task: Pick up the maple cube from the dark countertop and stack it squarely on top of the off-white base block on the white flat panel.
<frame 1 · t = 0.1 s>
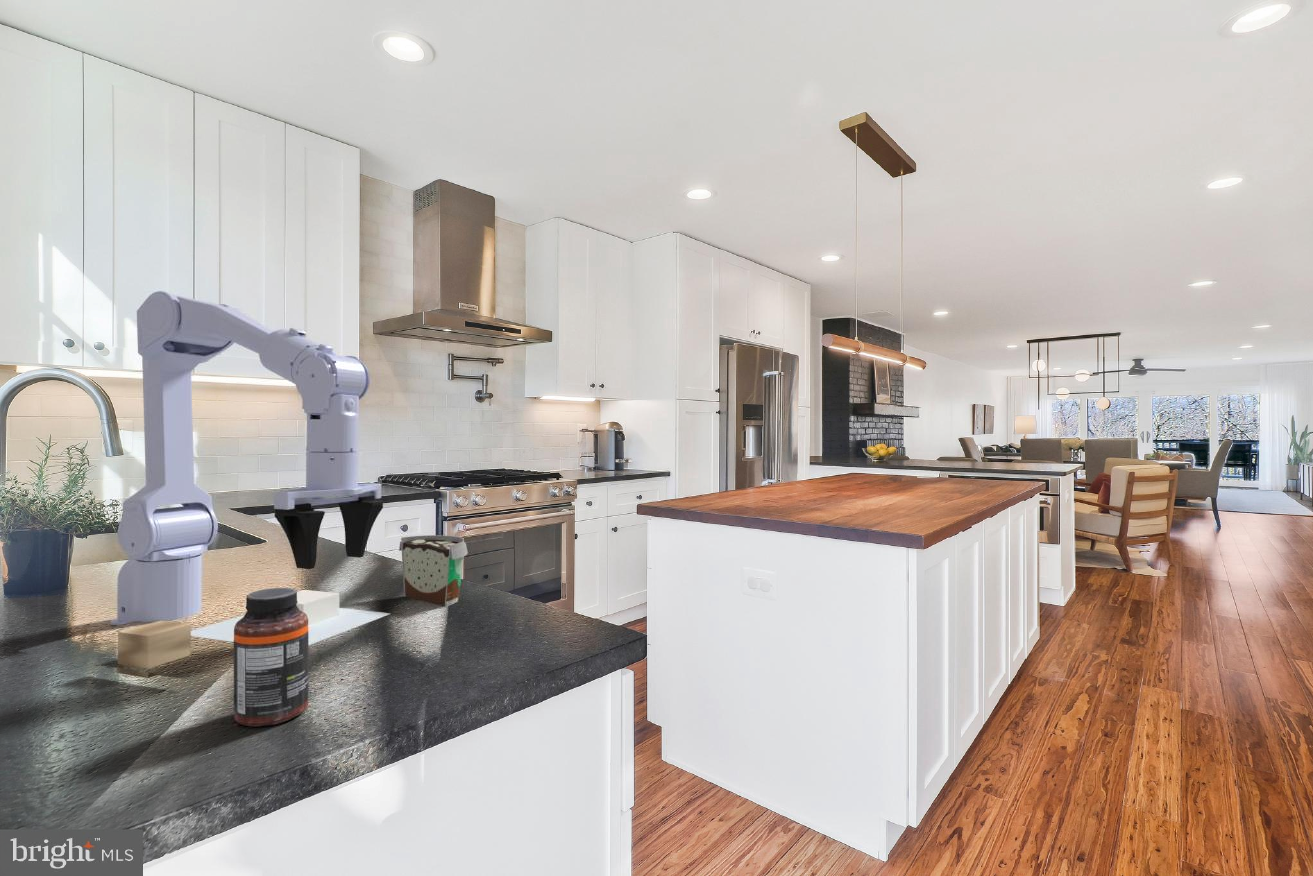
hand: (331, 562, 79), 10 cm above the counter, tool pointing down, fingers open, 7 cm apart
supplement bottle: (271, 717, 59), on the counter
food container: (441, 605, 98), on the counter
base block: (303, 619, 85), point 1 cm above the counter, touching white flat panel
white flat panel: (291, 630, 83), on the counter
maple block: (154, 669, 70), on the counter
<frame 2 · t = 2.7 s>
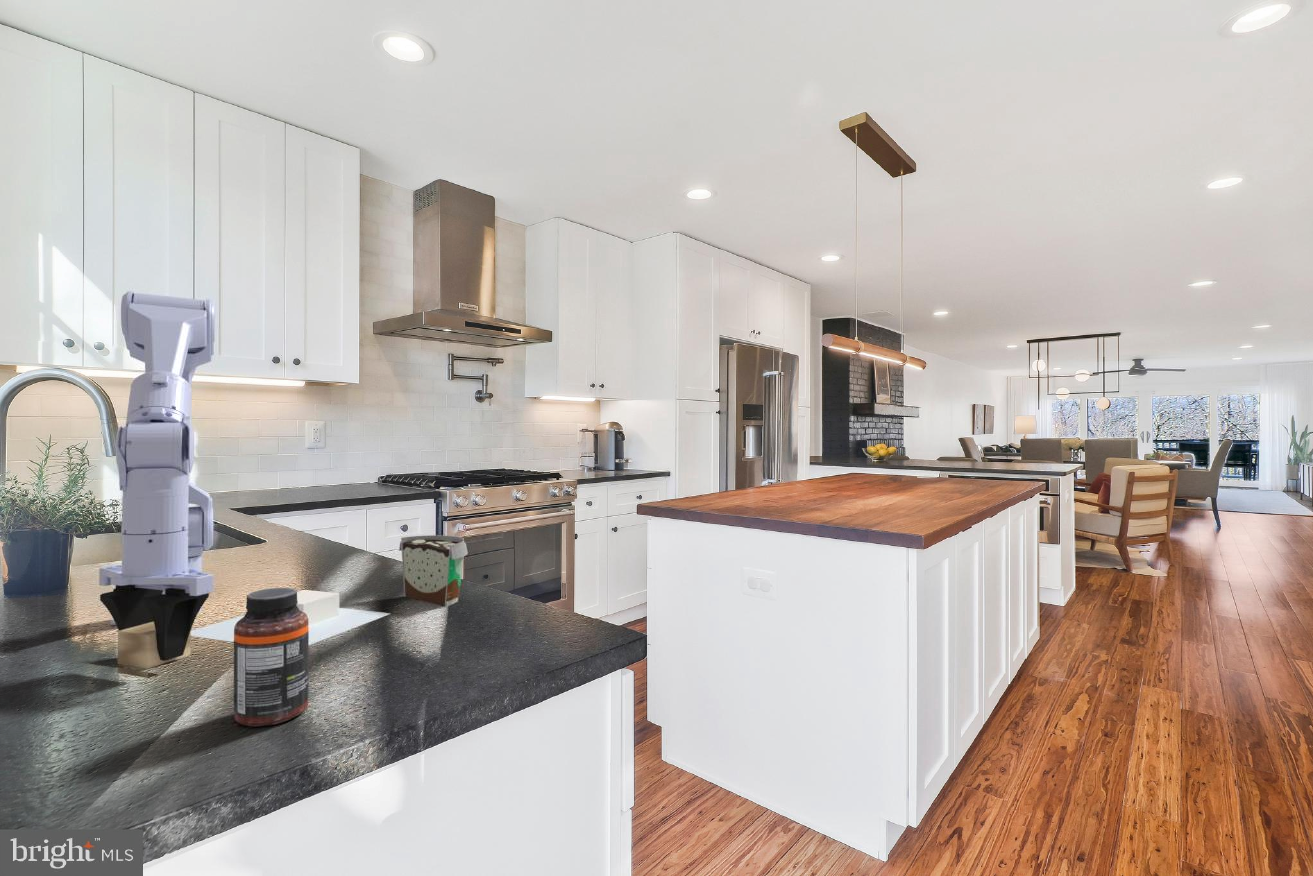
hand: (154, 655, 70), 1 cm above the counter, tool pointing down, fingers closed on maple block, 4 cm apart
maple block: (154, 668, 70), on the counter, touching gripper
everything else where it was.
when the fingers open (6 cm above the counter, at t = 6.5 s): maple block stays where it is, resting on base block.
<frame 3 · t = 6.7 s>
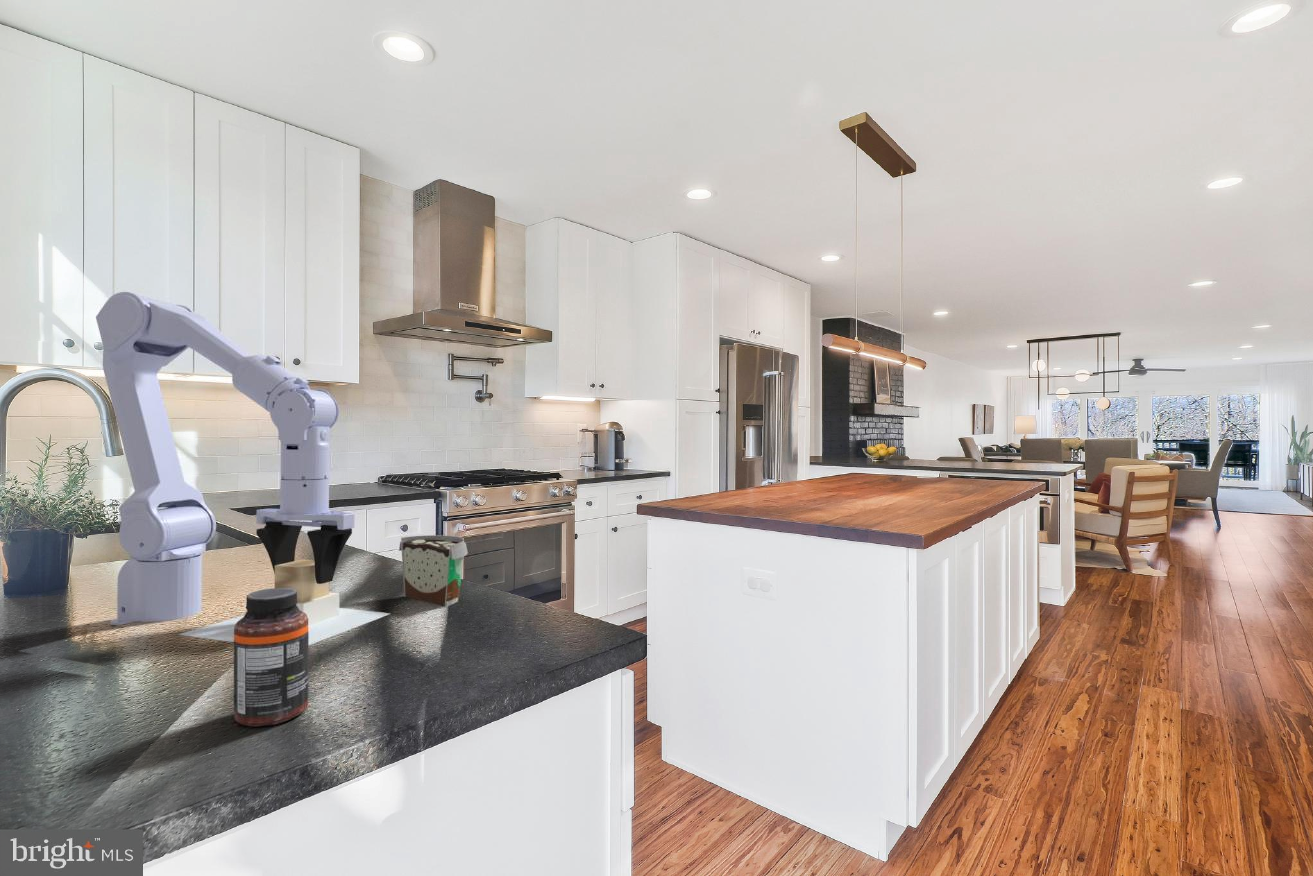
hand: (304, 580, 85), 6 cm above the counter, tool pointing down, fingers open, 6 cm apart
base block: (303, 619, 85), point 1 cm above the counter, touching white flat panel, maple block
maple block: (302, 597, 85), point 4 cm above the counter, touching base block
everything else where it was.
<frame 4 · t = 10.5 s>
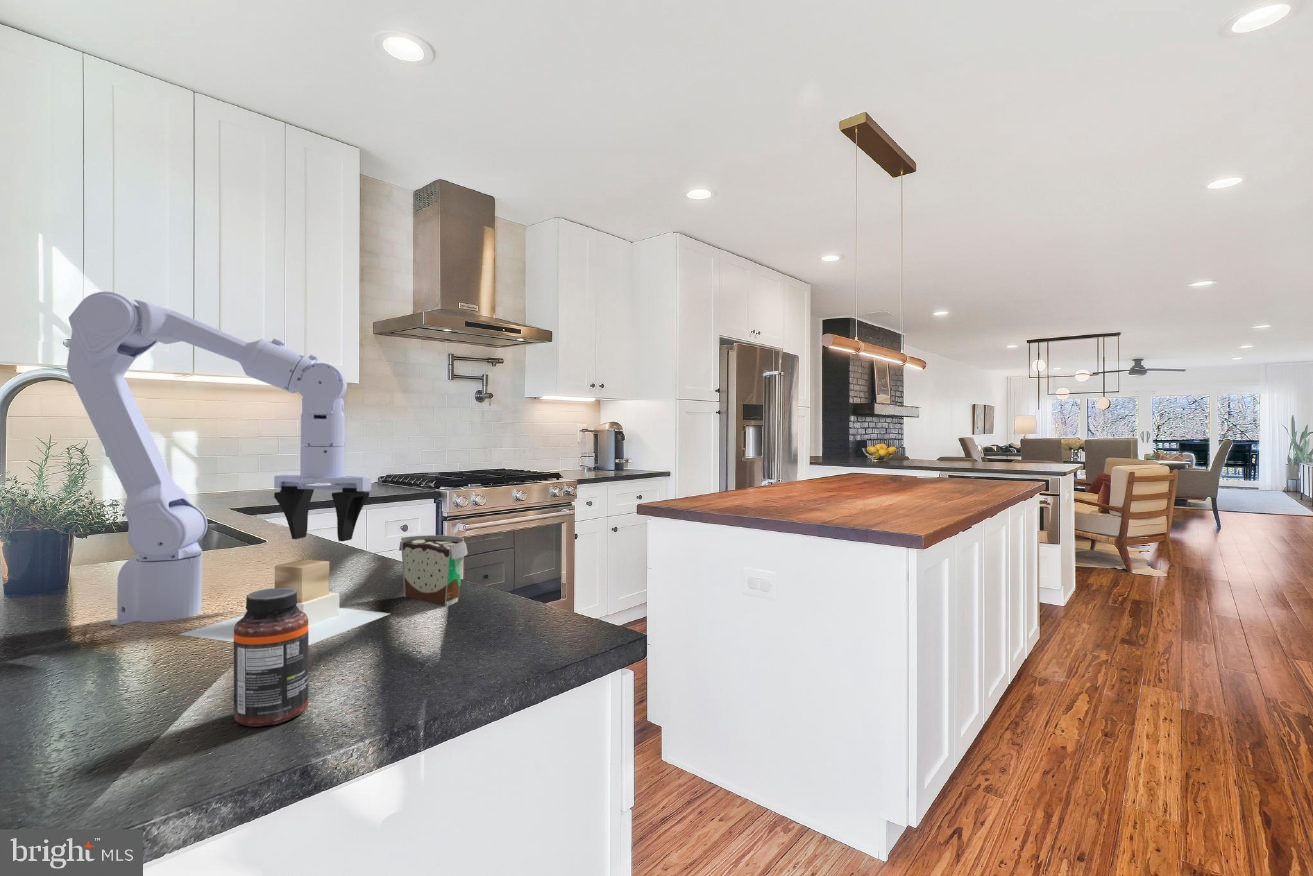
hand: (321, 539, 93), 10 cm above the counter, tool pointing down, fingers open, 7 cm apart
nothing on the counter moved.
at the end: maple block 0.3 cm off-centre on the base block, point 3.0 cm above the base block's base; maple block tilted 0°; base block 0.0 cm from the target spot, point 1.0 cm above the counter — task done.
